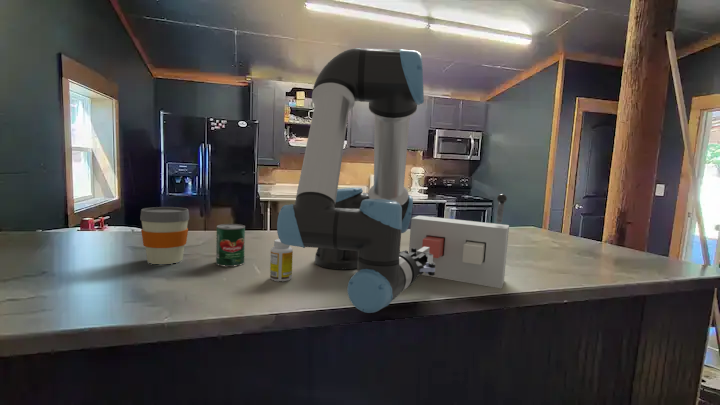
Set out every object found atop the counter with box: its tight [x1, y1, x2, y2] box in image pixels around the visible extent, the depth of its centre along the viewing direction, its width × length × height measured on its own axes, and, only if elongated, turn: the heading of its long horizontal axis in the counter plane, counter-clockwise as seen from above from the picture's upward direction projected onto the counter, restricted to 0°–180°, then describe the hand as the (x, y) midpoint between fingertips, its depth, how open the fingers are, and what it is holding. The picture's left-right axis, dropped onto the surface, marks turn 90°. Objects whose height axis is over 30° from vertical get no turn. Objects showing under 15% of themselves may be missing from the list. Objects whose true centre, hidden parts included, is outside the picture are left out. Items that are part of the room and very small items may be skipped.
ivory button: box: [462, 241, 485, 265], centre depth 103 cm, size 5×6×5 cm
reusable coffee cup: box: [139, 206, 190, 265], centre depth 111 cm, size 13×12×15 cm
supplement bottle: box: [269, 238, 294, 282], centre depth 100 cm, size 6×6×10 cm
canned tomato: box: [215, 223, 246, 267], centre depth 112 cm, size 8×8×11 cm
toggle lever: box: [495, 193, 508, 224], centre depth 107 cm, size 3×3×9 cm
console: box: [408, 215, 510, 289], centre depth 110 cm, size 26×8×16 cm, turn 65°
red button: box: [422, 236, 445, 258], centre depth 107 cm, size 5×6×5 cm
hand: (426, 251), depth 101 cm, fingers closed
